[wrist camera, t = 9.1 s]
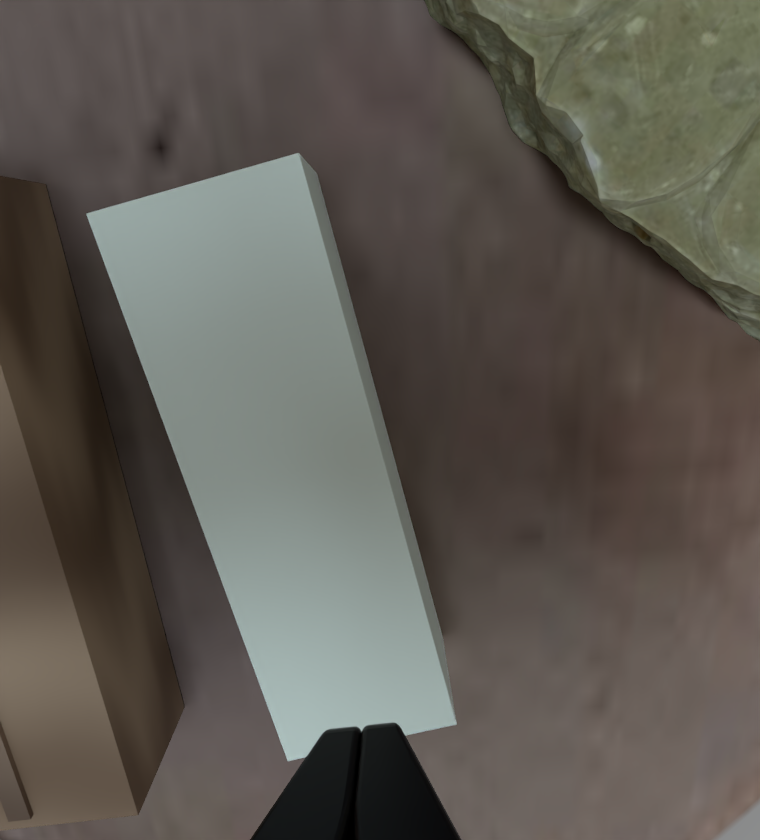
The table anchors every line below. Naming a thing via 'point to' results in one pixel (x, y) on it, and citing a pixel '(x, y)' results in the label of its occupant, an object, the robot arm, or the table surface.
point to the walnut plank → (67, 559)
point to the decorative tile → (641, 119)
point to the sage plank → (282, 445)
